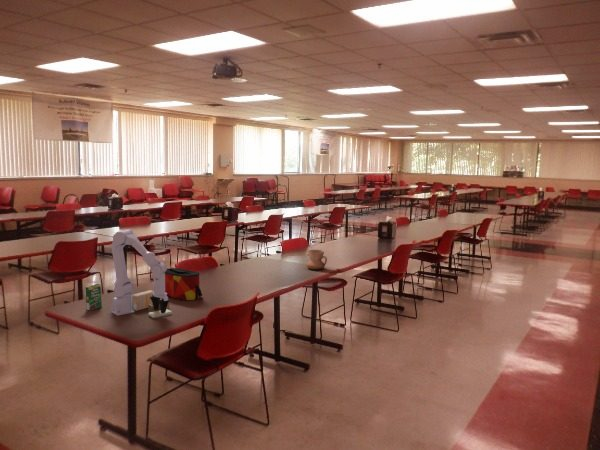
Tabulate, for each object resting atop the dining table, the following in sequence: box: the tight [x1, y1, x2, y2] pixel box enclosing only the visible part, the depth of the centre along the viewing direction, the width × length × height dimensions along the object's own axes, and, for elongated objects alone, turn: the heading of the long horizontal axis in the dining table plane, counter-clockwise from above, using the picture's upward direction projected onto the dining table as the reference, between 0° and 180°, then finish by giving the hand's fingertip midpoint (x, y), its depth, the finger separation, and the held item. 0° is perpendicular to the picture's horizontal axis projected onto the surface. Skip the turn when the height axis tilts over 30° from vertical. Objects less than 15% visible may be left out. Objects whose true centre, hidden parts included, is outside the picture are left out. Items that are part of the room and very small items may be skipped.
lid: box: [147, 309, 173, 319], centre depth 249 cm, size 11×5×1 cm, turn 133°
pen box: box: [147, 302, 170, 313], centre depth 255 cm, size 10×4×4 cm, turn 133°
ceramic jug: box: [305, 249, 328, 271], centre depth 365 cm, size 18×14×14 cm
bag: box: [164, 267, 203, 302], centre depth 284 cm, size 30×14×16 cm, turn 59°
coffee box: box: [84, 283, 103, 312], centre depth 256 cm, size 8×3×13 cm, turn 151°
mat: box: [147, 313, 173, 319], centre depth 249 cm, size 10×7×1 cm
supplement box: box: [131, 289, 154, 311], centre depth 261 cm, size 8×5×13 cm
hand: (159, 311), depth 248 cm, fingers open, 7 cm apart
